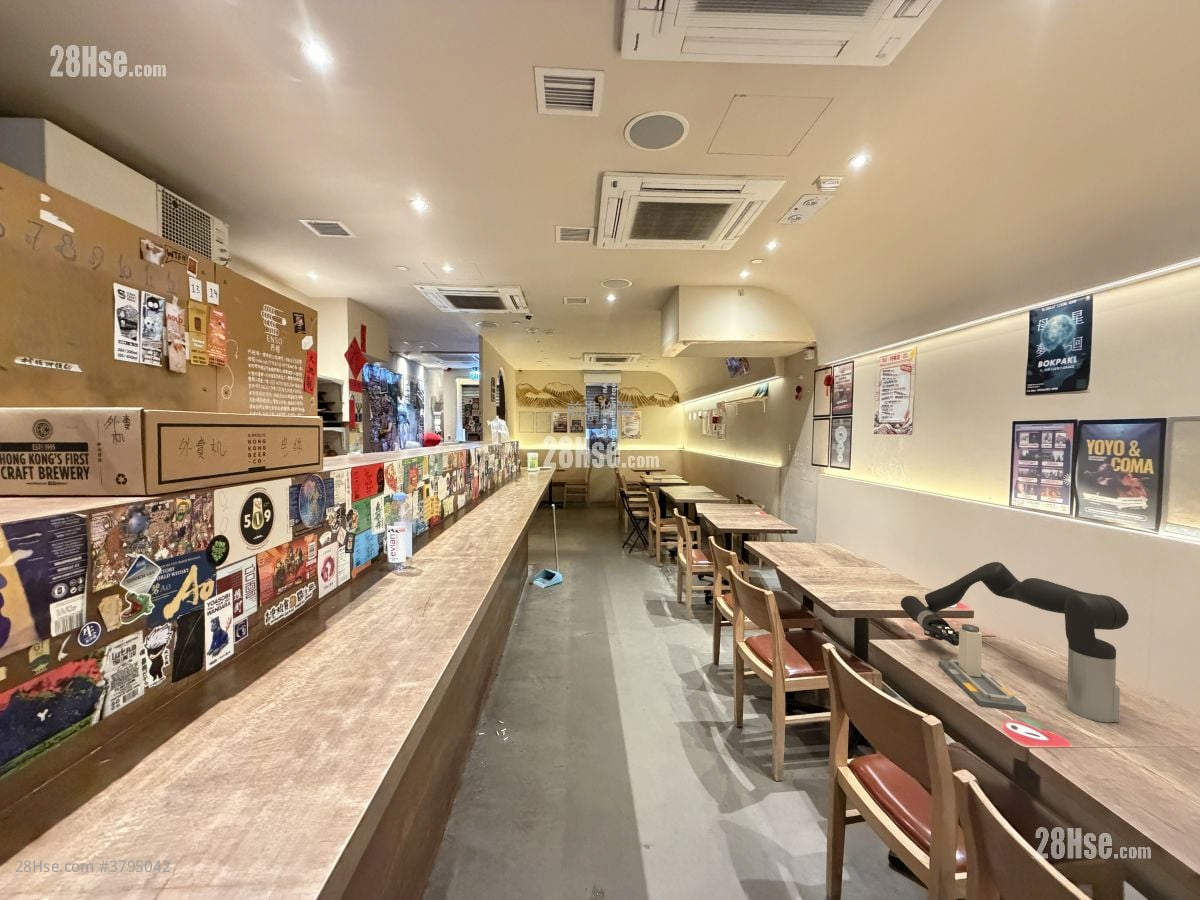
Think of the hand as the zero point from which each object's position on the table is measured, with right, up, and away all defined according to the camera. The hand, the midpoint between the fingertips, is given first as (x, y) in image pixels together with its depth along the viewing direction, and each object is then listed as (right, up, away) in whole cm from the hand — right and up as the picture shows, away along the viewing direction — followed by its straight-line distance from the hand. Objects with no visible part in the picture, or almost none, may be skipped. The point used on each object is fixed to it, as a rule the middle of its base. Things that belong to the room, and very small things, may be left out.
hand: (955, 642), depth 158 cm
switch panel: (-3, -8, -13) cm, 16 cm away
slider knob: (-2, -6, -8) cm, 10 cm away
